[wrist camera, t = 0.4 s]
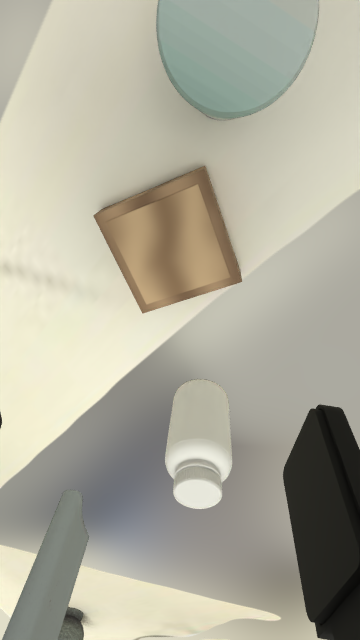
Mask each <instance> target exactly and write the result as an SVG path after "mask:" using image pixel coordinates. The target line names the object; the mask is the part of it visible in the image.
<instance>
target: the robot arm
mask: <svg viewBox="0 0 360 640" xmlns="http://www.w3.org/2000/svg"><path fill="white" fill-rule="evenodd" d="M1 425H2V418H1V413H0V428H1ZM283 479H284V486H285V491H286V497H287V503H288V508H289V514H290V520H291V525H292V532H293V537H294V543H295V549H296V554H297V561H298V566H299V572H300V578H301V584H302V589H303V595H304V601H305V607H306V612H307V615H308V618H309V620H310V621H311V622H314V623H315V626H316V631H317V637H318V638H321V639H327V640H360V450H359V447H358V445H357V442H356V440H355V438H354V435H353V433H352V431H351V428H350V426H349V424H348V421H347V418H346V416H345V414H344V412H343V410H342V409H341V408H339V407H332V406H326V405H318V406H317V407H316V409H310V411H309V413H308V415H307V418H306V420H305V422H304V424H303V426H302V429H301V431H300V433H299V435H298V437H297V440H296V442H295V444H294V446H293V449H292V451H291V453H290V455H289V458H288V460H287V462H286V464H285V467H284V472H283Z"/></svg>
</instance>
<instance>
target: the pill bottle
mask: <svg viewBox="0 0 360 640" xmlns="http://www.w3.org/2000/svg"><path fill="white" fill-rule="evenodd" d="M229 419H230V418H229V402H228V397H227V395H226V392H225V391H224V390H223V388H222V387H221V386H219V385H218V384H216V383H214V382H212V381H209V380H205V379H195V380H190V381H188V382H186V383H184V384H182V385H181V386H180V387H179V388H178V389H177V391H176V393H175V396H174V399H173V406H172V413H171V420H170V427H169V434H168V441H167V448H166V455H165V463H166V467H167V470H168V472H169V474H170V475H171V477H172V478H173V479H174V487H173V494H174V496H175V498H176V499H177V501H178V502H180V503H181V504H183V505H184V506H187V507H190V508H196V509H203V508H209V507H212V506H214V505H216V504H217V503H218V502H219V501H220V499H221V497H222V482H223V481H224V480H225V479H226V478H227V476H228V475H229V473H230V470H231V467H232V451H231V435H230V420H229Z"/></svg>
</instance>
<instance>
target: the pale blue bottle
mask: <svg viewBox="0 0 360 640" xmlns="http://www.w3.org/2000/svg"><path fill="white" fill-rule="evenodd" d="M318 14H319V0H158V7H157V21H156V26H157V40H158V46H159V51H160V55H161V59H162V62H163V65H164V68H165V70H166V72H167V75H168V77H169V79H170V80H171V82H172V84H173V85H174V87H175V88H176V90H177V91H178V92H179V93H180V95H181V96H182V97H183V98H184V99H185V100H186V101H187V102H188V103H190V104H191V105H192V106H194V107H195V108H197V109H198V110H199V111H201V112H202V113H204V114H205V115H207V116H208V117H210V118H213V119H216V120H229V119H234V118H239V117H243V116H247V115H251V114H253V113H256V112H258V111H260V110H262V109H264V108H266V107H267V106H269V105H270V104H272V103H273V102H274V101H276V100H277V99H278V98H279V97H280V96H281V95H282V94H283V93H284V92H285V91H286V90H287V89H288V88H289V87H290V86H291V84H292V83H293V82H294V80H295V79H296V78H297V76H298V74H299V73H300V71H301V70H302V68H303V66H304V64H305V62H306V60H307V58H308V55H309V53H310V50H311V47H312V44H313V41H314V37H315V33H316V29H317V23H318Z"/></svg>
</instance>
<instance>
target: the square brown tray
mask: <svg viewBox="0 0 360 640" xmlns="http://www.w3.org/2000/svg"><path fill="white" fill-rule="evenodd" d="M94 218H95V220H96V222H97V224H98V226H99V228H100V230H101V232H102V234H103V236H104V238H105V240H106V242H107V244H108V246H109V248H110V250H111V252H112V254H113V256H114V258H115V260H116V262H117V264H118V266H119V268H120V270H121V272H122V274H123V276H124V278H125V280H126V281H127V283H128V285H129V287H130V289H131V291H132V293H133V295H134V297H135V299H136V301H137V303H138V305H139V307H140V309H141V311H142V313H146V312H149V311H152V310H155V309H158V308H161V307H164V306H167V305H171V304H174V303H177V302H180V301H183V300H186V299H189V298H193V297H196V296H199V295H202V294H205V293H208V292H211V291H215V290H218V289H221V288H224V287H227V286H230V285H233V284H237V283H240V282H242V278H241V272H240V269H239V266H238V263H237V260H236V257H235V254H234V251H233V248H232V245H231V242H230V239H229V236H228V233H227V230H226V227H225V224H224V221H223V218H222V215H221V212H220V209H219V206H218V203H217V200H216V197H215V194H214V191H213V188H212V185H211V182H210V179H209V176H208V173H207V170H206V167H205V166H204V167H201V168H199V169H197V170H194V171H192V172H189V173H187V174H185V175H182V176H180V177H178V178H175V179H173V180H170V181H168V182H166V183H163V184H161V185H159V186H156V187H154V188H151V189H149V190H147V191H144V192H142V193H140V194H137V195H135V196H132V197H130V198H128V199H125V200H123V201H121V202H118V203H116V204H113V205H111V206H109V207H106V208H104V209H102V210H100V211H99V212H98V213H96V214H95V215H94Z"/></svg>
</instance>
